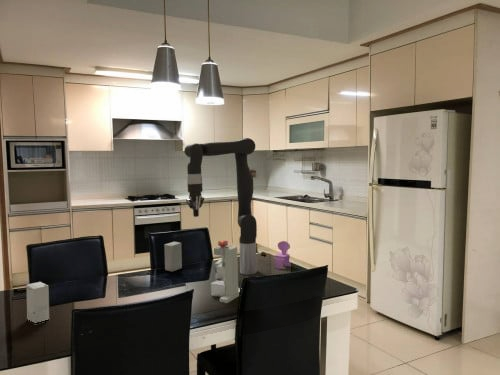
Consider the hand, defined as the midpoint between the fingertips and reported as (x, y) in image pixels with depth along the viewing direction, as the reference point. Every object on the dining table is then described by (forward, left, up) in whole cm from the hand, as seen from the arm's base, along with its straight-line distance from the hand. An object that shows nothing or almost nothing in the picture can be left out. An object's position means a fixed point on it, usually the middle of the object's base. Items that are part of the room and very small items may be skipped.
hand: (196, 216), depth 201 cm
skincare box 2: (-16, -30, -35) cm, 49 cm away
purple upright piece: (-46, +27, -35) cm, 64 cm away
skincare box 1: (+67, -31, -35) cm, 82 cm away
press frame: (+10, +24, -35) cm, 44 cm away
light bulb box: (-9, +10, -35) cm, 38 cm away
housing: (+10, +21, -35) cm, 42 cm away
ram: (+10, +23, -24) cm, 34 cm away
